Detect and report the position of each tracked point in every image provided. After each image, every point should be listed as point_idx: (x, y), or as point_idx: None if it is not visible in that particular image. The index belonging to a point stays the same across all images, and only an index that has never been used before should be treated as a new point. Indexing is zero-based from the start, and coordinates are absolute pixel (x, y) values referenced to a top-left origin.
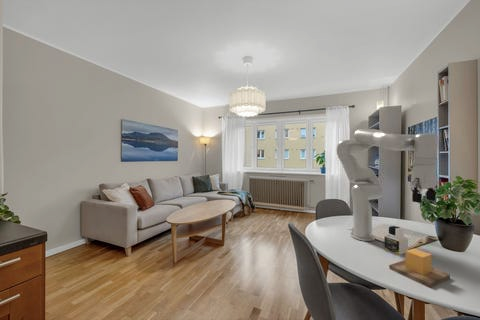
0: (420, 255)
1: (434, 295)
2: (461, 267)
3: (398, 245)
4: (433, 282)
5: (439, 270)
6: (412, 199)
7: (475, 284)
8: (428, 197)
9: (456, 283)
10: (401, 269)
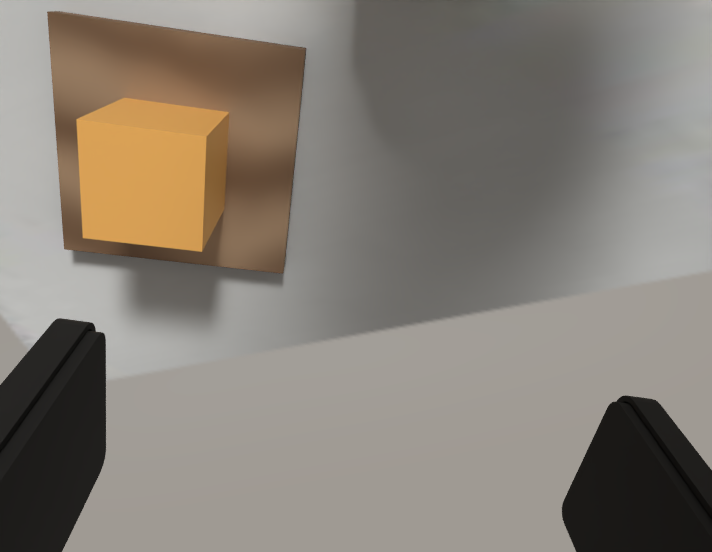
0: (103, 216)
1: (21, 275)
2: (495, 259)
3: None
4: (105, 251)
5: (283, 229)
6: (38, 344)
7: (324, 340)
8: (618, 468)
9: (252, 295)
10: (68, 93)
